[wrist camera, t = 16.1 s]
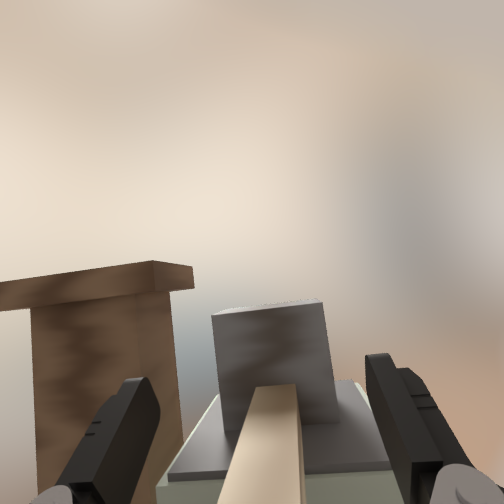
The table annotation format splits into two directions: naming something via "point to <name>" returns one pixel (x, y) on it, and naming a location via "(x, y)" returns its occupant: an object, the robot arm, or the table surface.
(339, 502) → the sage cabinet
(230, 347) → the hammer
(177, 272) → the wooden t-shaped stand
